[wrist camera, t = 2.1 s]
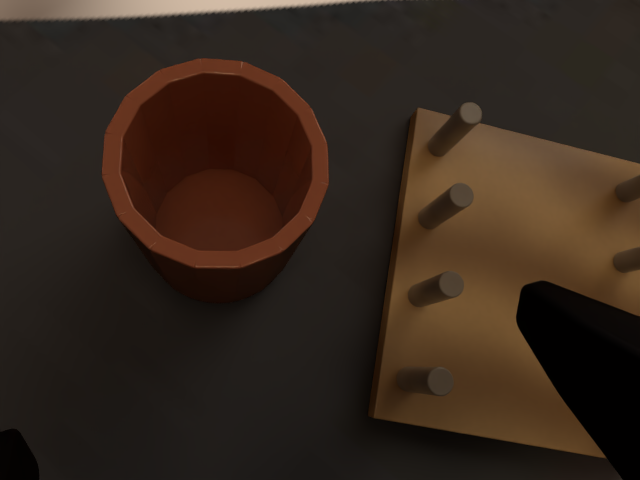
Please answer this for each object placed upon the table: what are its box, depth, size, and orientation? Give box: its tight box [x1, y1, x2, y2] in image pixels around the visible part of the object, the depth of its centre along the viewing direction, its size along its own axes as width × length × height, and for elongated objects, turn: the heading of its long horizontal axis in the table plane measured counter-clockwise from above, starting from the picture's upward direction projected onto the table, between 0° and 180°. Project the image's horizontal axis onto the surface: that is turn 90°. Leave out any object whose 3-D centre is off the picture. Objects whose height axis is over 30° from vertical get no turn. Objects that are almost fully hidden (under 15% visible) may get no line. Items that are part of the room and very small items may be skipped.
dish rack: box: [368, 102, 640, 459], centre depth 23 cm, size 14×12×4 cm
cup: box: [102, 58, 329, 303], centre depth 19 cm, size 6×6×8 cm
